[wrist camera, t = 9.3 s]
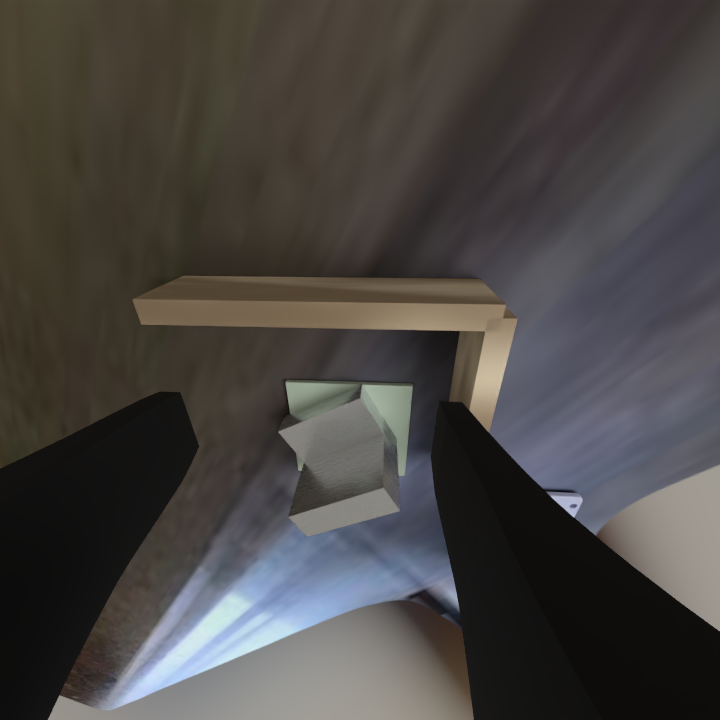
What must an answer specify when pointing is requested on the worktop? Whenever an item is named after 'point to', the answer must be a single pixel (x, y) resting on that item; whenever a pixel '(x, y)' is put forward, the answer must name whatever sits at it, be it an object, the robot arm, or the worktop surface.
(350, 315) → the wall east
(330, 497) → the bracket
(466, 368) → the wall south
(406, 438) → the pad
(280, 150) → the worktop surface
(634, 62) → the worktop surface
